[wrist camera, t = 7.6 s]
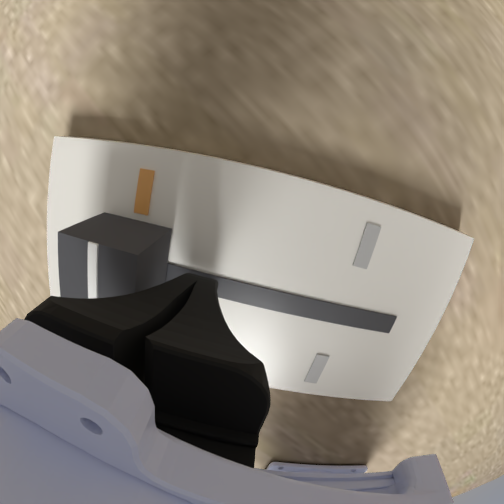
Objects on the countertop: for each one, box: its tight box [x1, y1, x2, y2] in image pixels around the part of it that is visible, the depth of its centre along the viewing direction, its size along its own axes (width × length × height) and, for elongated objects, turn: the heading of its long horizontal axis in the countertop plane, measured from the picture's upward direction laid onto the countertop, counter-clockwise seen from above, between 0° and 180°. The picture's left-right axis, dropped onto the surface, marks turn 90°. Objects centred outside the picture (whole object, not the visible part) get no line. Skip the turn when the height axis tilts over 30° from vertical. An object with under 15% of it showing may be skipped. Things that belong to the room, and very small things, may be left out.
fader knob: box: [58, 212, 172, 298], centre depth 11 cm, size 4×4×4 cm
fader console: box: [47, 136, 474, 401], centre depth 14 cm, size 22×11×2 cm, turn 77°
